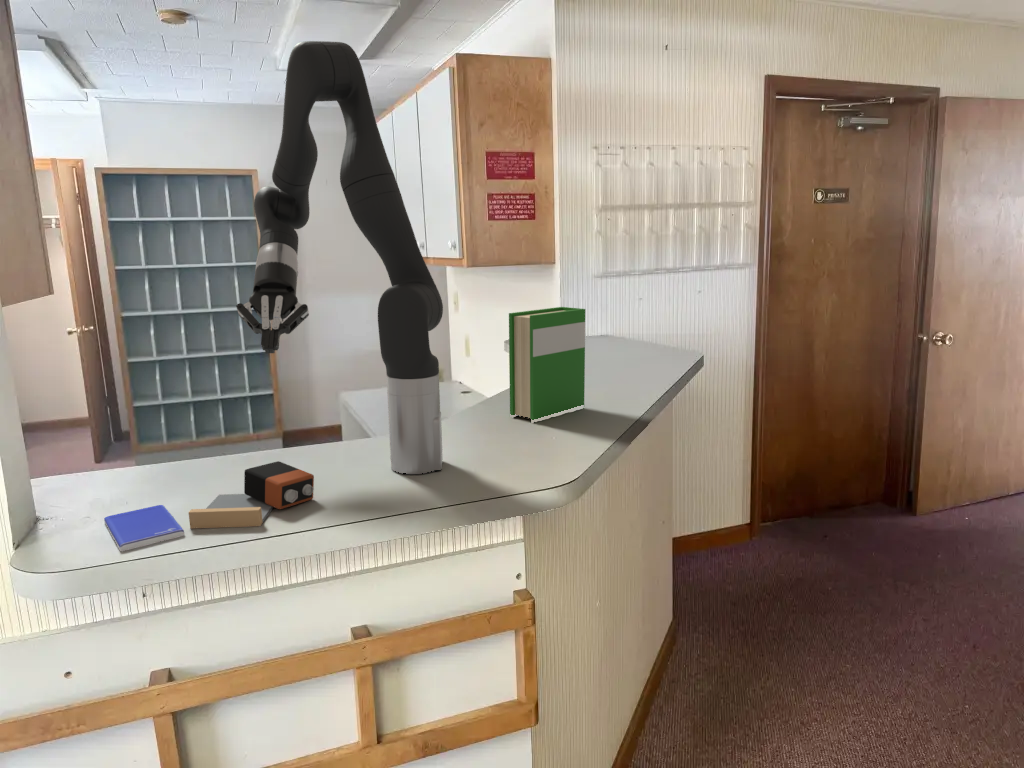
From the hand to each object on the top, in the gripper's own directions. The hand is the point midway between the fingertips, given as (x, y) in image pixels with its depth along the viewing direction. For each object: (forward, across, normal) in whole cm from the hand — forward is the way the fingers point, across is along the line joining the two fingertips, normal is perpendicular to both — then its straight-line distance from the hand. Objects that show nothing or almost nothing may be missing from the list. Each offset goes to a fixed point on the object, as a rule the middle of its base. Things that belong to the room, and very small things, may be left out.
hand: (269, 350), depth 123 cm
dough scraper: (+29, -2, 0) cm, 29 cm away
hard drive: (+33, -15, -2) cm, 36 cm away
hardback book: (-4, +57, +34) cm, 67 cm away
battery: (+22, 0, +3) cm, 23 cm away
